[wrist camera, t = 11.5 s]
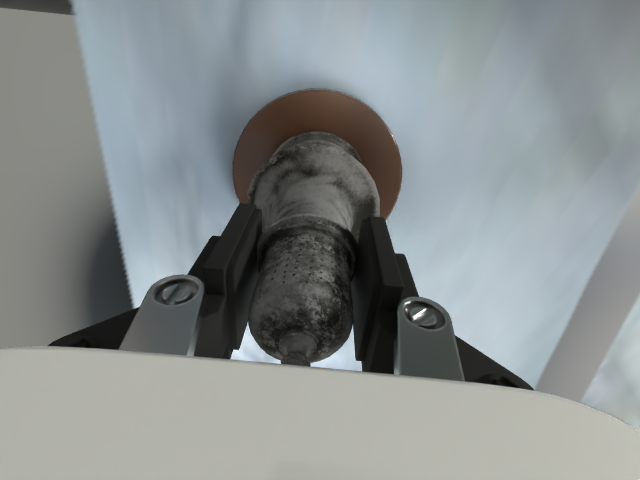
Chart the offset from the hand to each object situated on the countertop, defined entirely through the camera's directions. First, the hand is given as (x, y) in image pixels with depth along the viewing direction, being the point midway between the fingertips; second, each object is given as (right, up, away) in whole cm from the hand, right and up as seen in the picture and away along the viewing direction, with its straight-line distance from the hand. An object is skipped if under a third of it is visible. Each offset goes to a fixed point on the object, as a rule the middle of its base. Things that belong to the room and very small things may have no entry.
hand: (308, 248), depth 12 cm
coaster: (0, +4, +6) cm, 7 cm away
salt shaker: (0, +3, +6) cm, 7 cm away
